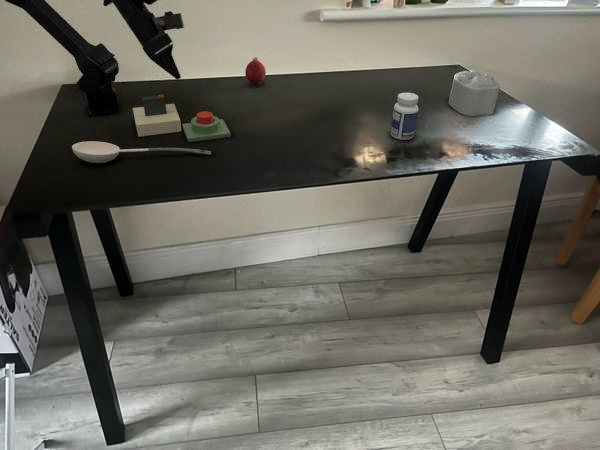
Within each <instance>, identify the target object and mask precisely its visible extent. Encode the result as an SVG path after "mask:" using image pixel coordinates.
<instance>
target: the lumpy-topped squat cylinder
mask: <svg viewBox="0 0 600 450" xmlns="http://www.w3.org/2000/svg"><path fill="white" fill-rule="evenodd" d="M500 90H501V84H500V83H499V82H498V81H496V80H495V78H494V75H493V74H491V73H485V74H484V73H483V74H481V72H480V71H478V70H477V69H473V70H470V71H469V70H463V71H459V72H457V73H455V74H454V77H453V81H452V85H451V90H450V95H449V99H448V105H449V106H450V107H451V108H452V109H454V110H455V111H456V112H458V113H459V114H461V115H464V116H469V117H475V116H476V117H477V116H485V115H488V116H489V115H492V114H494V112H495V108H496V104H497V102H498V101H497V100H498V98H499V93H500Z"/></svg>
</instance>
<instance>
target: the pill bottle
mask: <svg viewBox="0 0 600 450" xmlns="http://www.w3.org/2000/svg"><path fill="white" fill-rule="evenodd" d="M396 101H397V102H396V103H395V104H394V106H393V111H392V117H391V124H390V125H391V126H390V131H389V133H390V136H391V137H392V138H393V139H396V140H401V141H408V140H412V139H413V138H414V136H415V132H416V126H417V121H418V115H419V106H418V105H417V104H418V103H419V96H418V95H417V94H416V93H413V92H400V93H398V94H397V99H396Z"/></svg>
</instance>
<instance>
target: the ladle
mask: <svg viewBox="0 0 600 450" xmlns="http://www.w3.org/2000/svg"><path fill="white" fill-rule="evenodd" d="M71 149H72V152H73V154H74V155H75V156H76V157H77V158H79V159H80V160H82V161H84V162H87V163H91V164H92V163H93V164H106V163H109V162H110V161H113V160H115V159H116V158H117V157H118V156H119V154H120V153H135V152H181V153H182V152H183V153H190V154H191V153H192V154H200V155H206V156H207V155H208V156H211V155H212V151H211V150H204V149H200V148H199V149H198V148H184V147H147V148H128V149H127V148H125V149H123V148H122V149H121V147H119V146H118V145H117V144H113V143H110V142H104V141H93V140H89V141H81V142H80V141H79V142H77V143H74V144H73V145H71Z"/></svg>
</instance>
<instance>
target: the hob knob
mask: <svg viewBox="0 0 600 450" xmlns="http://www.w3.org/2000/svg"><path fill="white" fill-rule="evenodd" d="M141 99H142V105H143V106H142V107H144V112H145V116H152V115H161V114H167V110H166V104H167V103H166V97H165V95H164V94H158V95H151V96H142V97H141Z"/></svg>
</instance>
